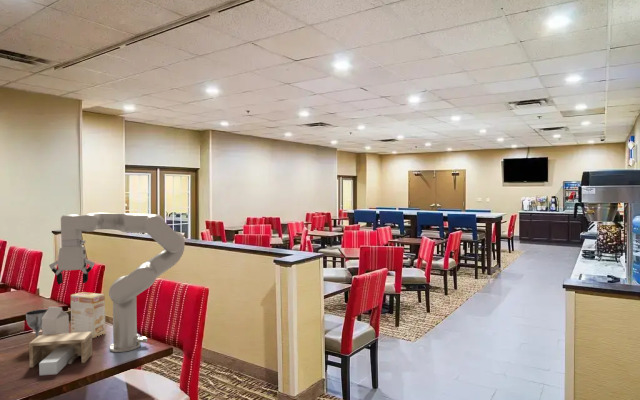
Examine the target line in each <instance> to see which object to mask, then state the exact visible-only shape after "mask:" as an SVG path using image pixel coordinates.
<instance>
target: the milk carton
mask: <svg viewBox="0 0 640 400" xmlns="http://www.w3.org/2000/svg"><path fill="white" fill-rule="evenodd" d="M46 310H47V312H46V313H45V314H44V316H43V317H42V328H41V332H42V333H41V335H49V334H64V333H70V322H69V319H70V318H69V317H70V316H69V314H68V312H66V311H65V310H63V307H55V306H48V307H47V309H46Z"/></svg>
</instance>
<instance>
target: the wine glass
mask: <svg viewBox="0 0 640 400" xmlns="http://www.w3.org/2000/svg"><path fill="white" fill-rule="evenodd" d="M47 310H48V309H44V308H41V309H35V310H30V311H27V312H25V317H26V318H25V320H26V323H27V326H28V327H29V328H30V329H32V330H33V331H34V333H35V338H37V337H38V336H39V335H40V331H41V330H42V317H43V316H44V314H45V313H46V312H47ZM27 347H28V348H29V345H28V346H27Z"/></svg>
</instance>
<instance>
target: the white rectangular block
mask: <svg viewBox="0 0 640 400" xmlns="http://www.w3.org/2000/svg"><path fill="white" fill-rule="evenodd" d="M73 356H74V350H73V346H68V347H57V348H56V349H55V350H54V351H53V352H52V353H50V354H49V355H48V356H47V357H46V358H45V359H42V360H41V361H39V362H38V366H39V367H38V368H39V369H38V370H39V376H49V375H58V373H60V372H61V370H63V369H64V368H65V367H66V365H67V364H68V361H69V360H70V359H71V358H72V357H73Z"/></svg>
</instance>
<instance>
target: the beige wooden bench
mask: <svg viewBox="0 0 640 400" xmlns="http://www.w3.org/2000/svg"><path fill="white" fill-rule="evenodd" d="M28 346H29V347H28V348H29V349H28V350H29V352H28V355H29V358H28V359H29V368H34V367H35V366H36V365H38V364H39V363H40V362H41V361H42V360H43V359H45V358H46V357H47V356H48V355H49V354H50V353H52V352H53V351H54V350H55V349H56V348H57V347H68V346H73V350H74V356H73V357H72V358H71V359H70V360H69V361H68V363H67V364H68V365H72V364H73V362H74V361H75V360H76V359H77V358H78V357H81V364H86V362H87V361H88V360H89V359H90V357H91V356H92V355H93V338H92V332H78V333H71V332H69V333H64V334H49V335H42V334H39V336H38V337H37V338H36V337H35V338H34V339H32V341H30V342H29V343H28Z"/></svg>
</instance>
